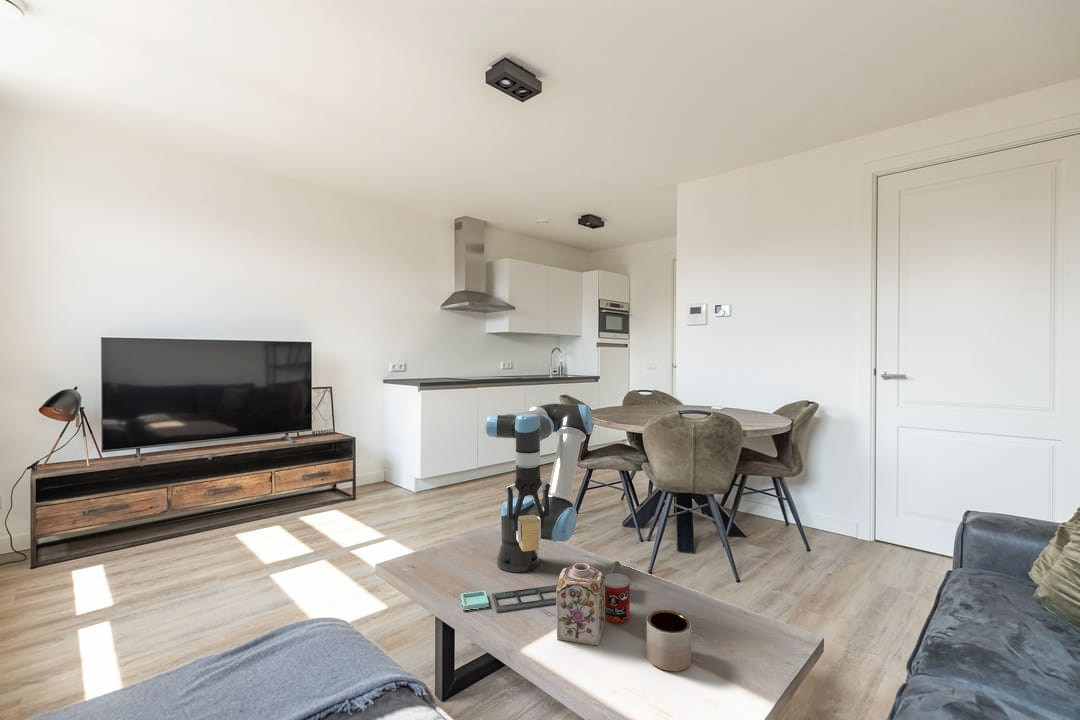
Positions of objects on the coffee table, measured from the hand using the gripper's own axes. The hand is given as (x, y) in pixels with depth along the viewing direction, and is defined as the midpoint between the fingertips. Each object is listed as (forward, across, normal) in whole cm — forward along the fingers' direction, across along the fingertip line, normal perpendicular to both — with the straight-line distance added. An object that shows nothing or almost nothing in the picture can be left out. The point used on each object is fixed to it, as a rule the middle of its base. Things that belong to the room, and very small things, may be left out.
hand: (528, 539), depth 149 cm
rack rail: (+19, 0, 0) cm, 19 cm away
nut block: (+2, 0, 0) cm, 2 cm away
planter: (+19, -27, +37) cm, 50 cm away
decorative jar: (+19, -10, +20) cm, 29 cm away
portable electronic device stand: (+19, -26, +2) cm, 32 cm away
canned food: (+19, -22, +16) cm, 33 cm away
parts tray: (+19, +16, -2) cm, 25 cm away
